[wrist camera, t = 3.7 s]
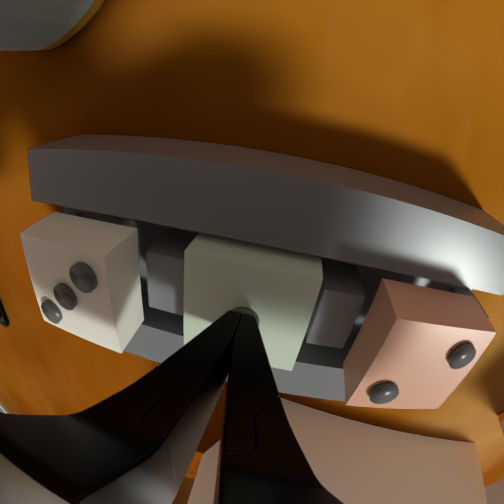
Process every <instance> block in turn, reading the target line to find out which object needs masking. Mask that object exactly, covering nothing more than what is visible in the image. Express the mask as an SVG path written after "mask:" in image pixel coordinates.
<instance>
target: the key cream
mask: <svg viewBox="0 0 504 504" xmlns="http://www.w3.org/2000/svg"><path fill="white" fill-rule="evenodd" d="M20 235H21V240H22V245H23V249H24V254H25V258H26V262H27V266H28V270H29V274H30V277H31V281H32V284H33V288H34V291H35V294H36V298H37V301H38V304H39V307H40V310H41V313H42V316H43V318H44V321H46V322H48V323H50V324H53V325H55V326H57V327H59V328H61V329H63V330H65V331H68V332H70V333H72V334H74V335H77V336H79V337H81V338H84V339H86V340H88V341H91V342H93V343H96V344H98V345H101V346H103V347H106V348H108V349H111V350H113V351H116V352H119V353H122V352H123V350H124V349H125V347H126V346H127V344H128V343H129V341H130V340H131V338H132V337H133V335H134V334H135V332H136V331H137V329H138V328H139V327H140V325H141V324H142V322H143V321H144V315H143V305H142V295H141V284H140V271H139V255H138V233H137V228H133V227H128V226H123V225H118V224H113V223H108V222H103V221H98V220H93V219H88V218H83V217H79V216H74V215H69V214H64V213H59V212H53V213H52V214H50V215H48V216H46V217H45V218H43V219H41V220H40V221H38V222H36V223H35V224H33V225H31V226H30V227H28V228H27V229H25V230H23V231H22V232H20Z"/></svg>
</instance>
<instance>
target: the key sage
mask: <svg viewBox="0 0 504 504" xmlns="http://www.w3.org/2000/svg"><path fill="white" fill-rule="evenodd" d="M322 282H323V271H322V258H321V256H316V255H311V254H306V253H301V252H296V251H291V250H287V249H282V248H277V247H272V246H267V245H262V244H257V243H252V242H247V241H242V240H237V239H232V238H227V237H222V236H217V235H212V234H207V233H201V232H199V233H198V235H197V236H196V237H195V238H194V240H193V241H192V242H191V243H190V245H189V246H188V247H187V248H186V250H185V251H184V345H185V344H186V343H188V342H189V341H190V340H192V339H193V338H194V337H195V336H197V335H198V334H199V333H200V332H202V331H203V330H204V329H206V328H207V327H208V326H209V325H211V324H212V323H213V322H214V321H216V320H217V319H218V318H219V317H221V316H222V315H223V314H224V313H226V312H227V311H228V310H233V311H237V312H241V314H243V313H246V314H251V315H254V316H255V317H256V319H257V323H258V326H259V329H260V333H261V336H262V339H263V343H264V346H265V349H266V352H267V356H268V359H269V362H270V366H271V367H273V368H278V369H284V370H289V371H292V369H293V366H294V364H295V361H296V358H297V356H298V353H299V350H300V347H301V345H302V342H303V339H304V336H305V333H306V330H307V328H308V325H309V322H310V319H311V316H312V313H313V310H314V307H315V304H316V301H317V298H318V294H319V291H320V288H321V285H322Z"/></svg>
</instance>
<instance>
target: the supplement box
mask: <svg viewBox="0 0 504 504" xmlns="http://www.w3.org/2000/svg"><path fill="white" fill-rule="evenodd" d="M498 419H499V422H500V425H501V428H502V431H503V434H504V412H503V413H502V414H500V415H499V417H498Z"/></svg>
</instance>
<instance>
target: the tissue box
mask: <svg viewBox="0 0 504 504" xmlns="http://www.w3.org/2000/svg"><path fill="white" fill-rule="evenodd" d="M280 398H281V397H280ZM281 401H282V404H283V407H284V410H285V413H286V416H287V419H288V421H289V424H290V426H291V428H292V430H293V432H294V435H295V437H296V439H297V441H298V443H299V445H300V447H301V449H302V451H303V453H304V455H305V457H306V459H307V461H308V462H309V464H310V466H311V468H312V470H313V472H314V474H315V476H316V477H317V479H318V480H319V481H320V483H321V484H322V485H323V486H324V487H325V488H326V489H327V490H328V491H329V492H330V493H331V494H333V495H334V496H335V497H336V498H338V499H339V500H340V501H341V502H343V503H344V504H487V501H486V495H485V488H484V483H483V477H482V472H481V467H480V463H479V458H478V454H477V450H476V446H475V443H471V442H462V441H454V440H446V439H439V438H433V437H427V436H421V435H416V434H410V433H405V432H400V431H395V430H391V429H386V428H382V427H378V426H374V425H369V424H365V423H362V422H358V421H354V420H350V419H347V418H343V417H340V416H336V415H333V414H329V413H326V412H323V411H319V410H316V409H313V408H310V407H307V406H304V405H301V404H298V403H295V402H292V401H289V400H286V399H284V398H281ZM219 447H220V440H219V441H218V442H217V443H216V444H214V445H213V446H212V447H211V448H210V449H208V450H207V451H206V452H205V453H204V454H203V456H202V459H201V462H200V465H199V468H198V472H197V475H196V478H195V481H194V484H193V487H192V491H191V494H190V497H189V500H188V503H187V504H213V501H214V492H215V483H216V474H217V465H218V456H219Z"/></svg>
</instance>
